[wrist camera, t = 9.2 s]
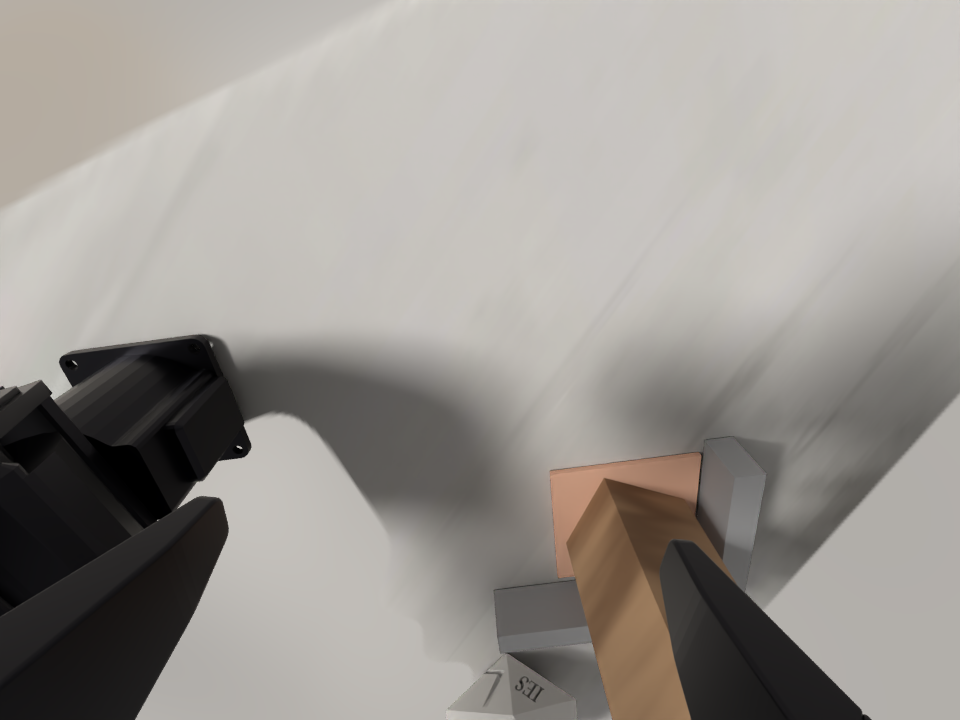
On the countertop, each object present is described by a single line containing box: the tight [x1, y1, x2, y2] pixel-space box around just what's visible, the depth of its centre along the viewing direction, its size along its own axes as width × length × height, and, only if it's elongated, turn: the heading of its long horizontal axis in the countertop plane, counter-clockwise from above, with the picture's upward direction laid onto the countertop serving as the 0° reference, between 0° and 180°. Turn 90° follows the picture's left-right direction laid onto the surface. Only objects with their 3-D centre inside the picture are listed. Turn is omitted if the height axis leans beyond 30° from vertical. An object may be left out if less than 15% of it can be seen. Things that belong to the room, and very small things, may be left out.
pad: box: [550, 452, 701, 578], centre depth 27 cm, size 8×8×1 cm
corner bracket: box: [494, 437, 766, 653], centre depth 26 cm, size 14×11×3 cm
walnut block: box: [566, 478, 736, 720], centre depth 21 cm, size 5×5×13 cm
